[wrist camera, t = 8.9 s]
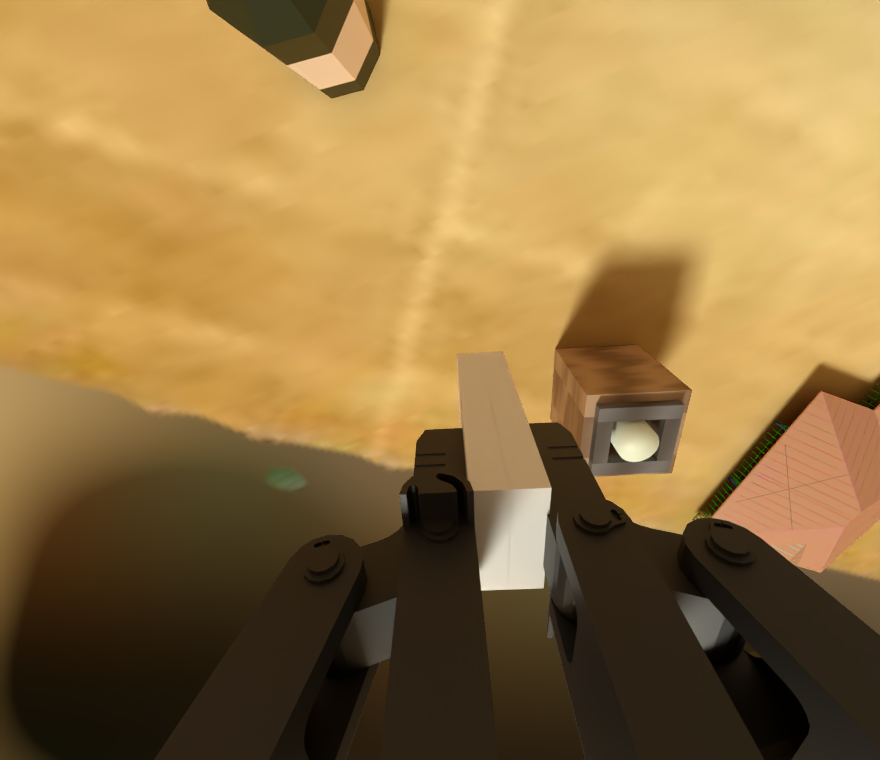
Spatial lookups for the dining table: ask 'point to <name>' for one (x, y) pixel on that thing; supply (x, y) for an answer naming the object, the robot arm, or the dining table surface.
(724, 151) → the dining table surface
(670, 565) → the robot arm
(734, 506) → the house
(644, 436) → the peg
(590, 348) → the socket block
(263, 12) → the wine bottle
